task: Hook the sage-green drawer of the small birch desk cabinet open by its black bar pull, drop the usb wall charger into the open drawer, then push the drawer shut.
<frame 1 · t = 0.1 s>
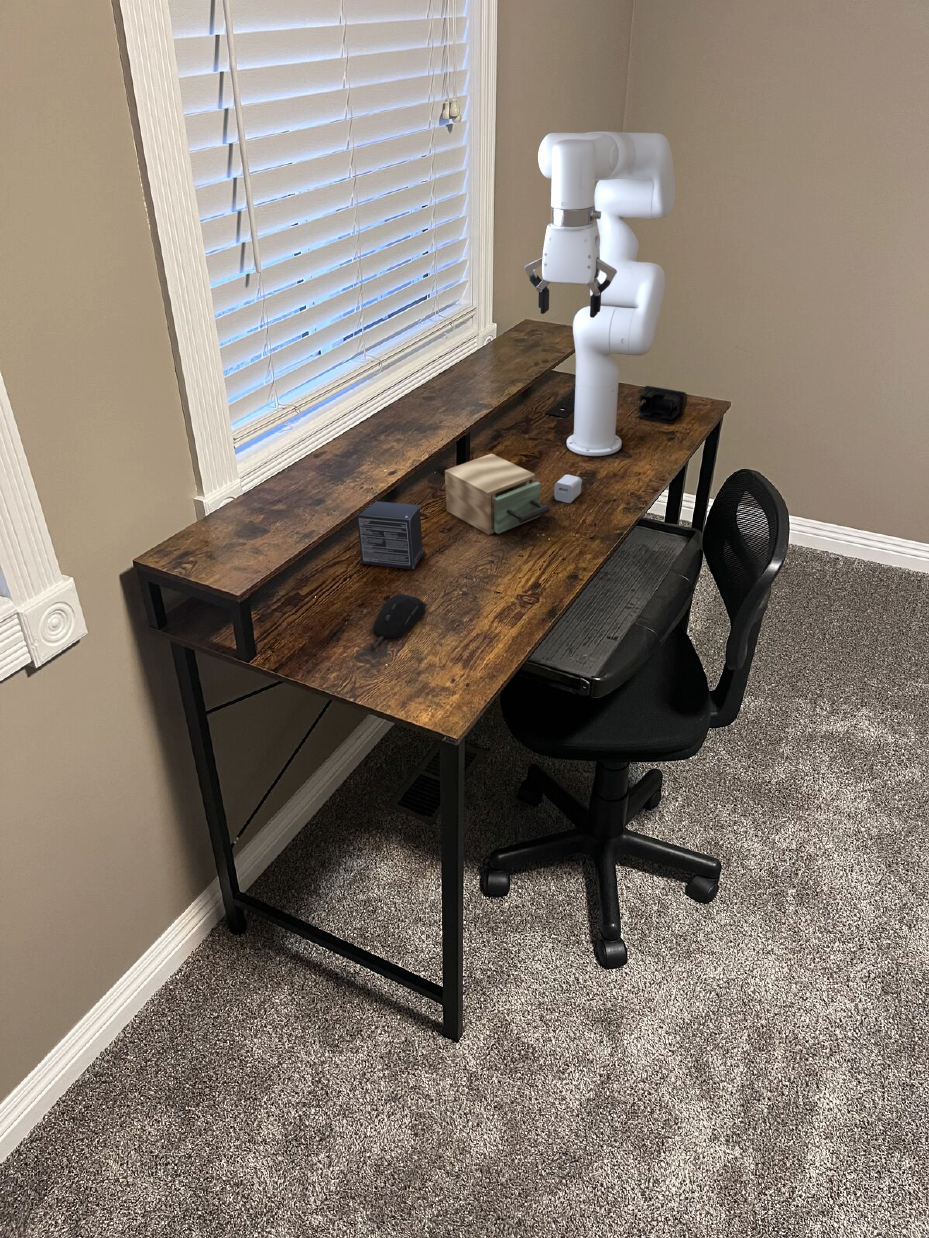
hand: (569, 313, 175), 37 cm above the table, tool pointing down, fingers open, 9 cm apart
gaming mouse: (395, 626, 155), on the table
small box: (393, 559, 174), on the table
cabinet: (490, 513, 188), on the table
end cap: (661, 417, 227), on the table
drawer: (506, 501, 182), point 5 cm above the table, slide at 1.0 cm
usb wall charger: (570, 495, 194), on the table
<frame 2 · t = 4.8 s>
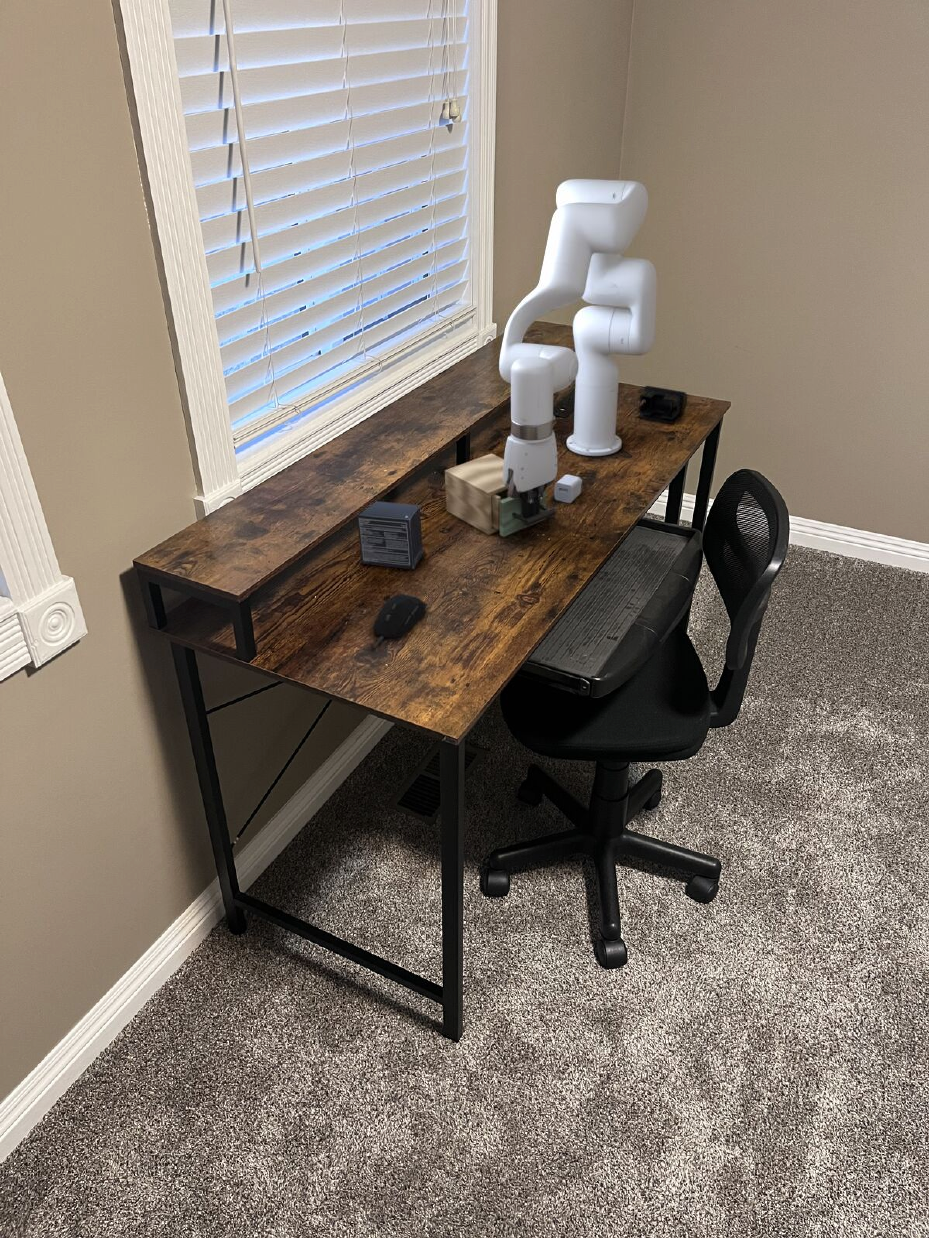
hand: (531, 518, 177), 4 cm above the table, tool pointing down, fingers closed
drawer: (512, 504, 181), point 5 cm above the table, slide at 2.6 cm, touching gripper
everything else where it was.
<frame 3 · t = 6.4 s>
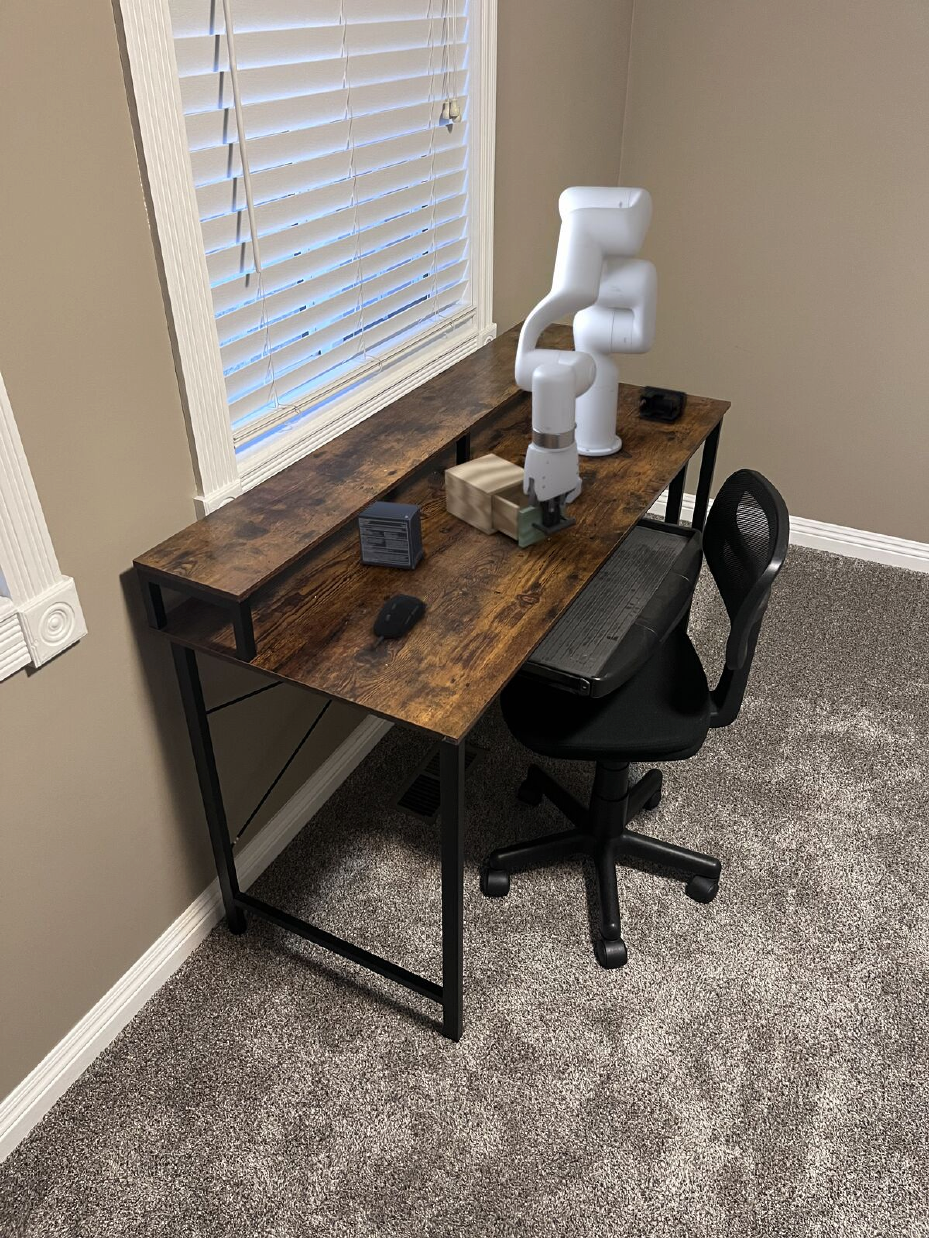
hand: (551, 526, 174), 4 cm above the table, tool pointing down, fingers closed
drawer: (531, 514, 177), point 5 cm above the table, slide at 8.2 cm
everything else where it was.
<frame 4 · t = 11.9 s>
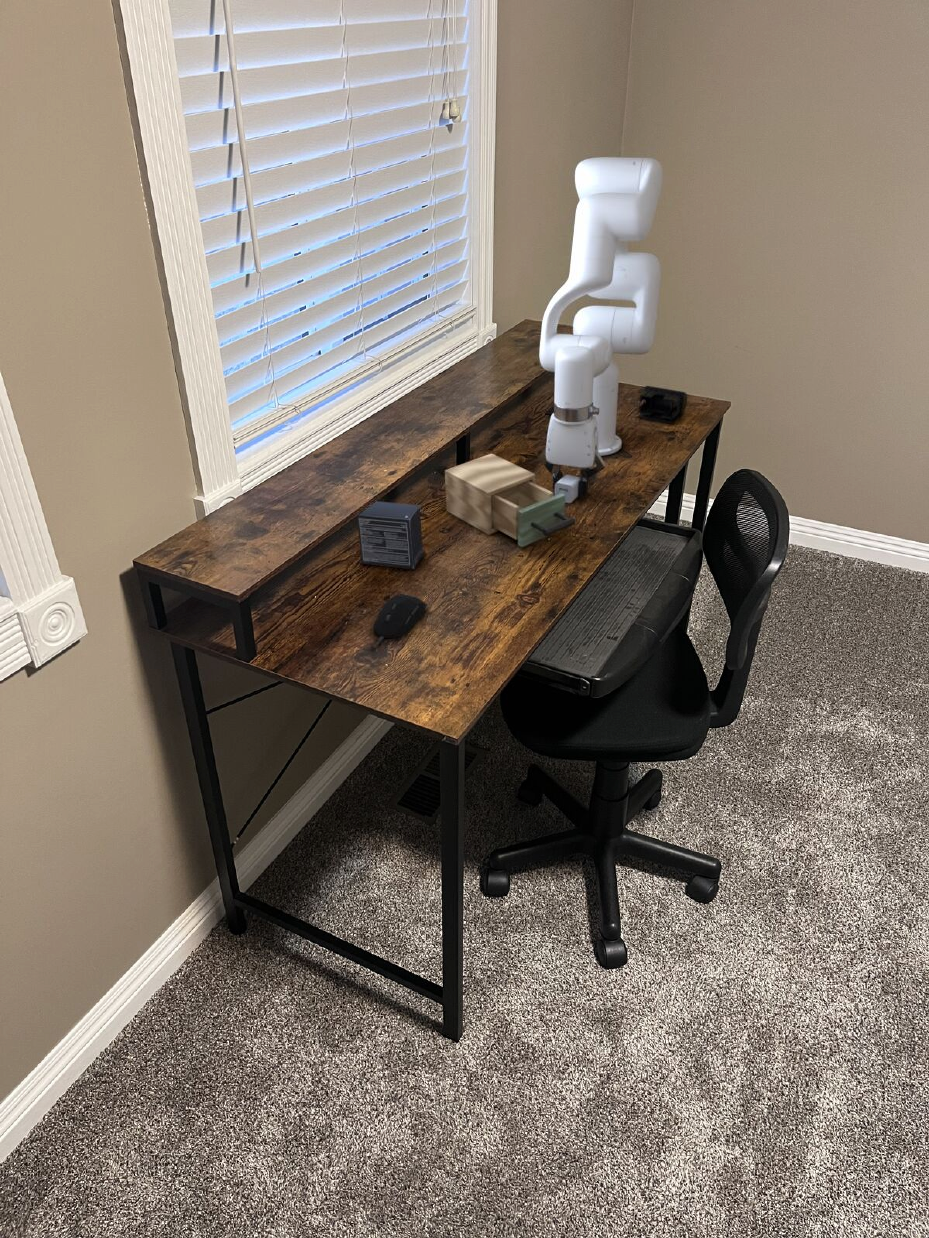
hand: (570, 493, 193), 0 cm above the table, tool pointing down, fingers closed on usb wall charger, 4 cm apart
usb wall charger: (570, 495, 194), on the table, touching gripper
everything else where it was.
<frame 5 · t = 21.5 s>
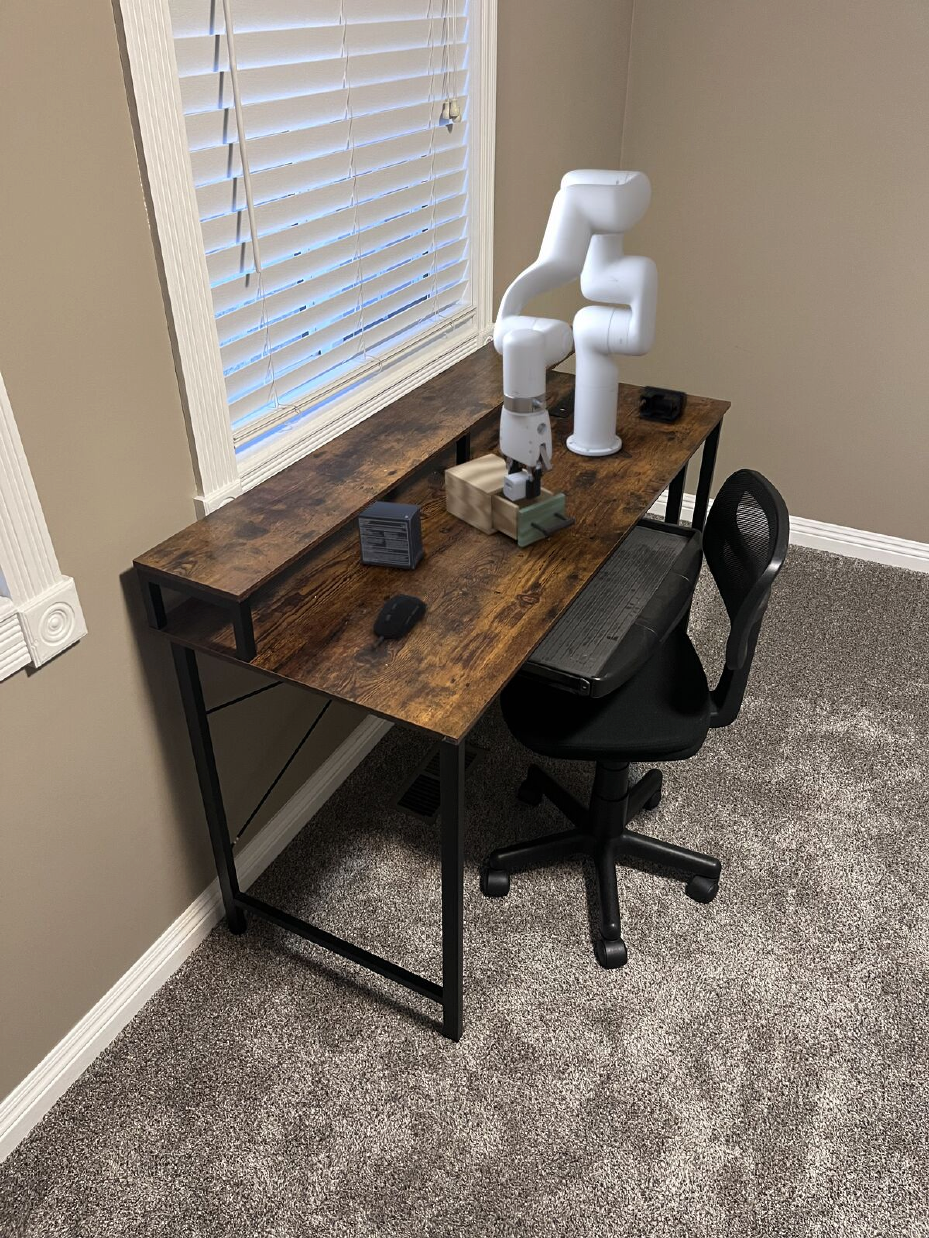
hand: (524, 491, 176), 9 cm above the table, tool pointing down, fingers closed on usb wall charger, 4 cm apart
usb wall charger: (524, 494, 176), point 8 cm above the table, touching gripper
everything else where it was.
when the fingers open (12 cm above the table, at t = 30.7 s): usb wall charger drops 9 cm, resting on drawer.
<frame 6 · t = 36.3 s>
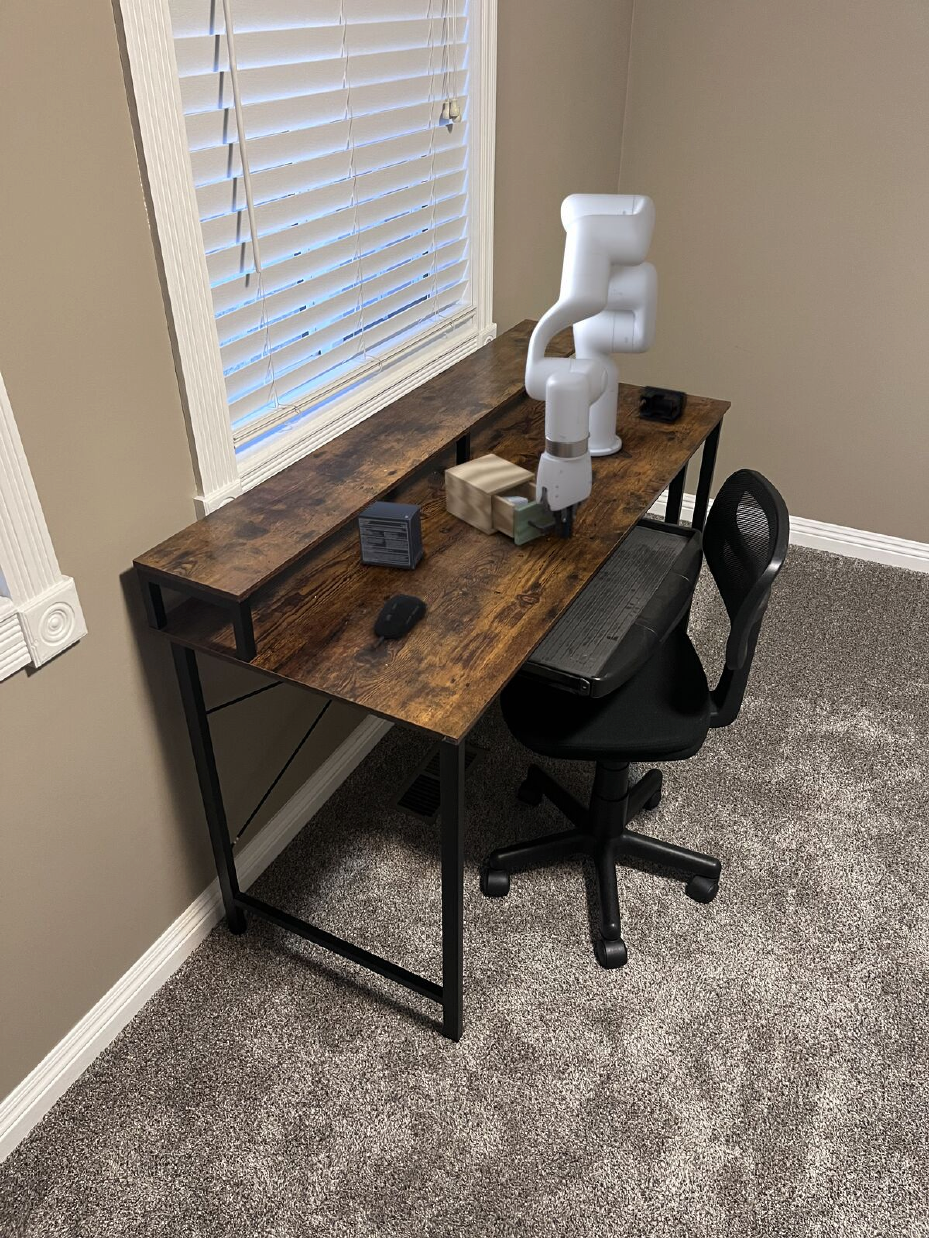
hand: (563, 536, 172), 4 cm above the table, tool pointing down, fingers closed
drawer: (527, 512, 178), point 5 cm above the table, slide at 7.0 cm, touching gripper, usb wall charger
usb wall charger: (516, 518, 180), point 2 cm above the table, touching drawer
everything else where it was.
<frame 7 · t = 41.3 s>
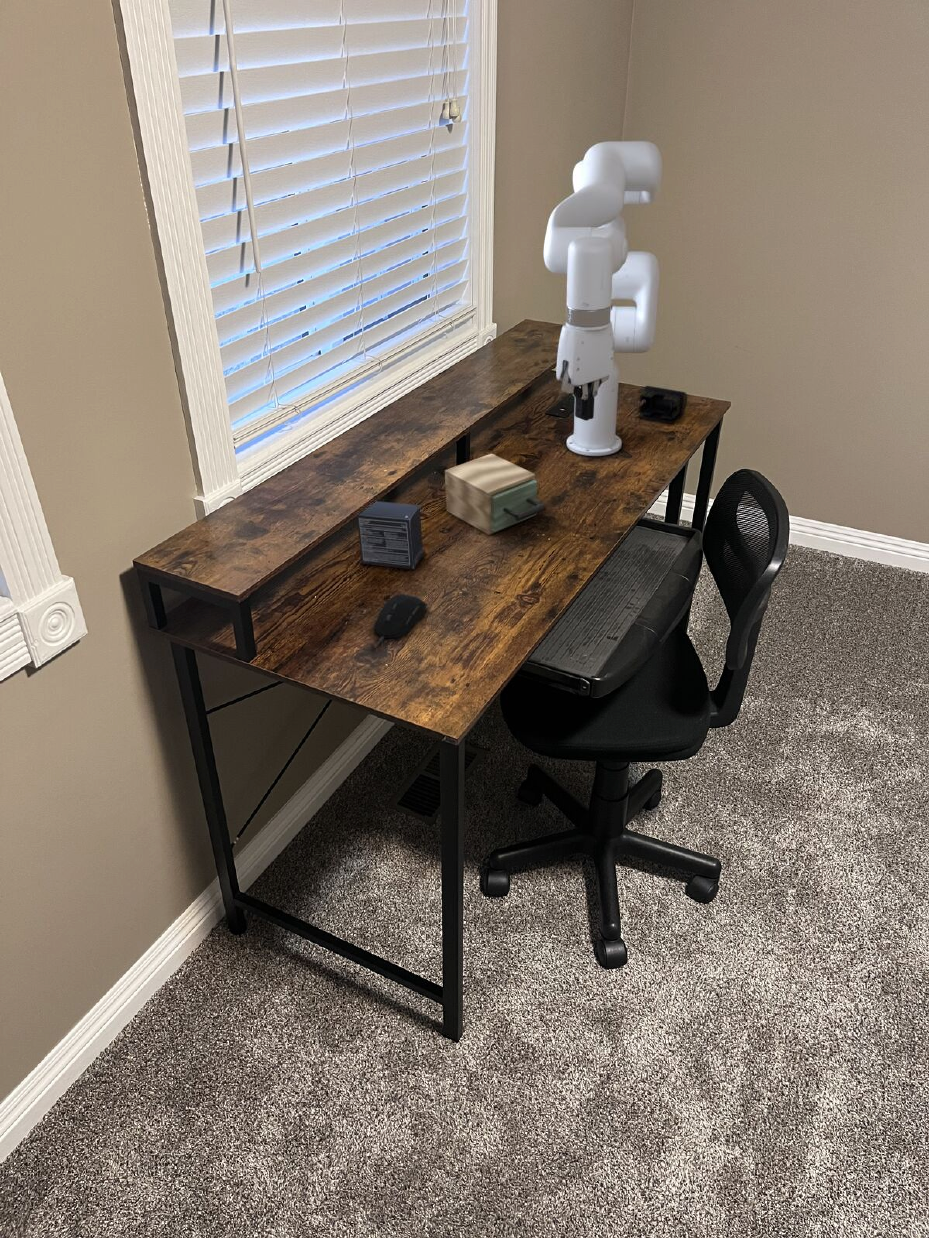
hand: (584, 417, 168), 23 cm above the table, tool pointing down, fingers closed
drawer: (503, 500, 182), point 5 cm above the table, slide at 0.0 cm, touching usb wall charger
usb wall charger: (493, 506, 185), point 2 cm above the table, touching drawer
everything else where it was.
at the end: drawer pulled out 8.2 cm at the most during the clip, back to where it started at the end; usb wall charger inside the target area in the cabinet (1.9 cm from its centre), point 2.3 cm above the cabinet's base; drawer slide at 0.0 cm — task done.
